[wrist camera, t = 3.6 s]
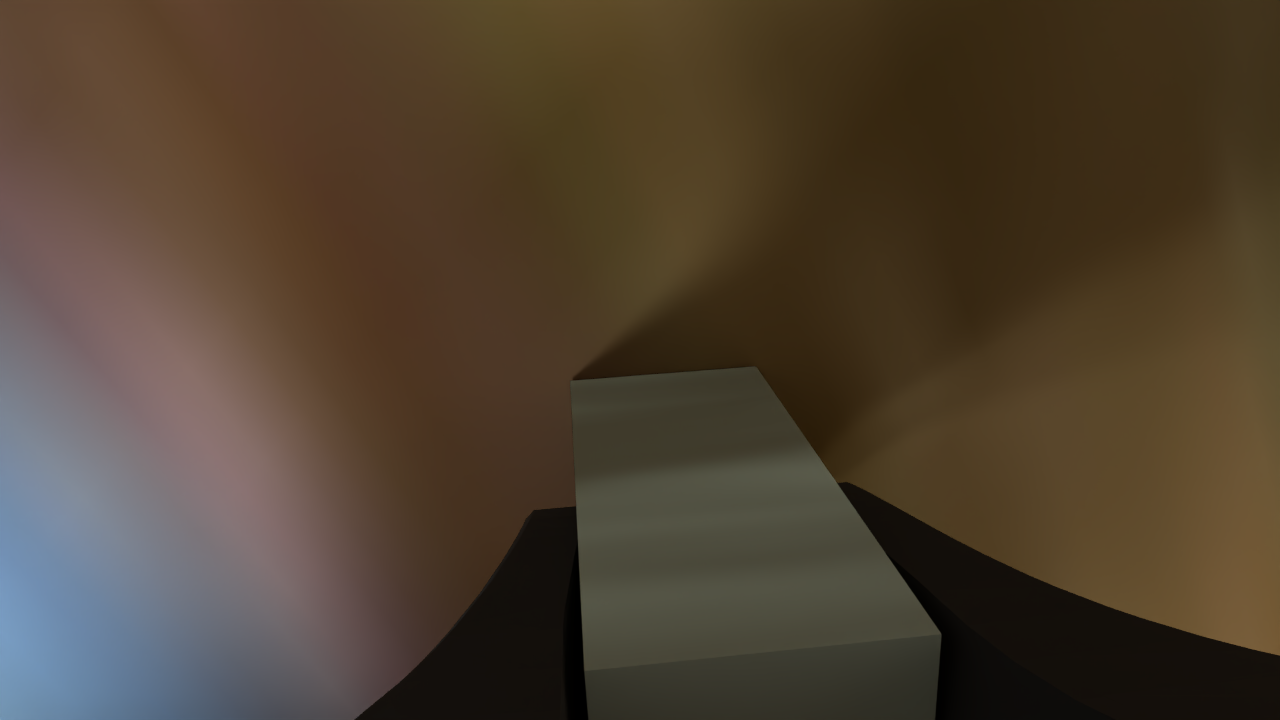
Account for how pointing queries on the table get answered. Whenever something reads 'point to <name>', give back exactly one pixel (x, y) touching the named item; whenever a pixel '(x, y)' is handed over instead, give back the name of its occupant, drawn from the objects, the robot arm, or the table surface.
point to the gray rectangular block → (731, 564)
